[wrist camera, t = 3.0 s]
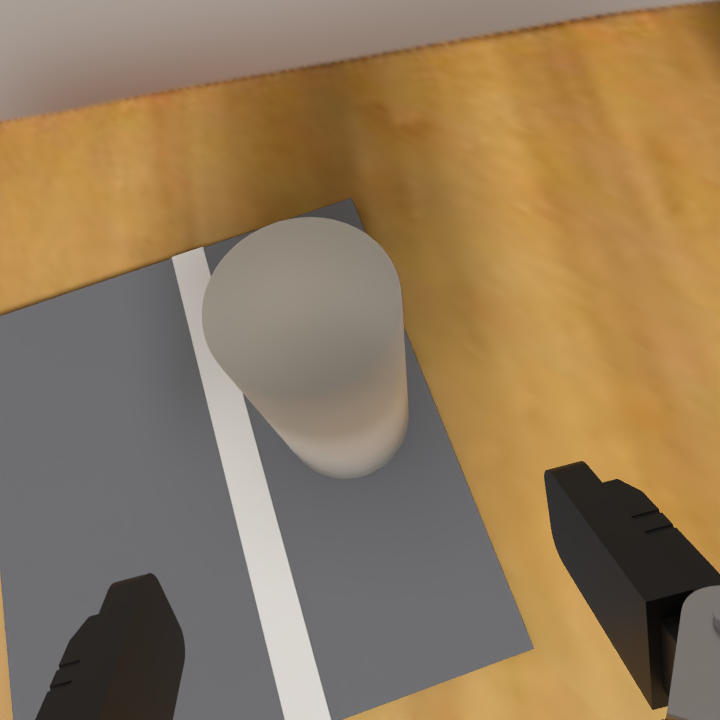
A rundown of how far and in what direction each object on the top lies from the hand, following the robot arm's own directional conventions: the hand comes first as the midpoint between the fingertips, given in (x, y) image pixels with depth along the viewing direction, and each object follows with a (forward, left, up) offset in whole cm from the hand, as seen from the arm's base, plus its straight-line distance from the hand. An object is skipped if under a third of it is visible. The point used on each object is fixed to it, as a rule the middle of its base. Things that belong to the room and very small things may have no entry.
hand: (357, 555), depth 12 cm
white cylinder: (0, -6, -10) cm, 12 cm away
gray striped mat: (+5, -6, -11) cm, 14 cm away
